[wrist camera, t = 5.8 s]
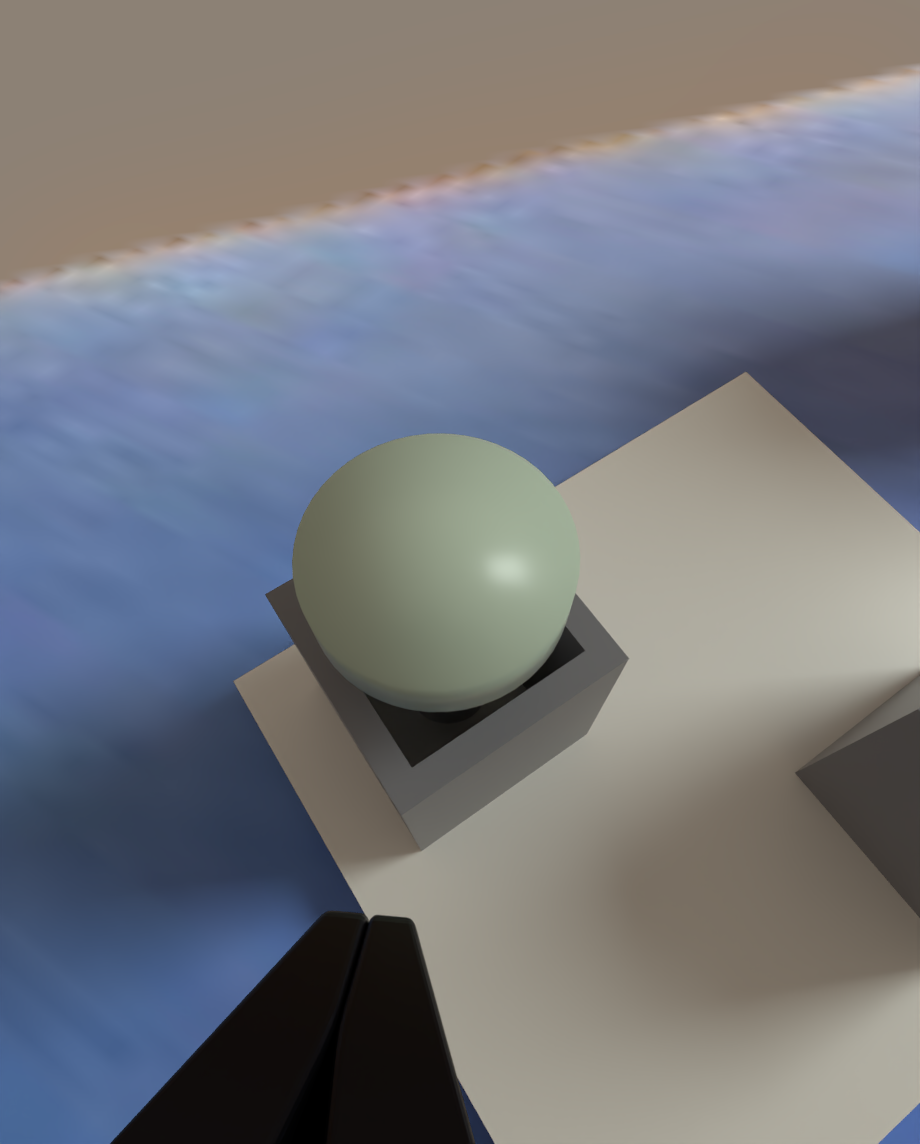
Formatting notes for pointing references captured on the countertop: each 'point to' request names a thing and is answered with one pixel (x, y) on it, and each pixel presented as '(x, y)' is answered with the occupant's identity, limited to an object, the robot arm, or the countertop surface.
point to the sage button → (437, 572)
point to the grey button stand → (662, 807)
